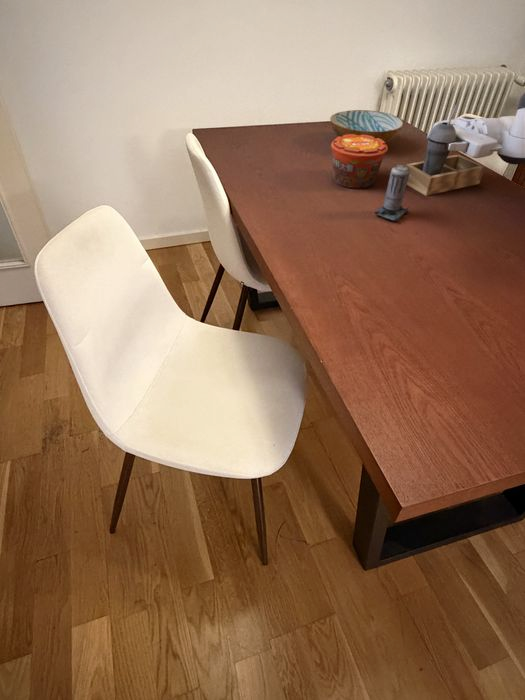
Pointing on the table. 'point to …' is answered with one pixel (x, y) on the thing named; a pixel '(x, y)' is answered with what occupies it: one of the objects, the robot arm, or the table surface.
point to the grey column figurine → (395, 194)
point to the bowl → (366, 124)
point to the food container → (357, 160)
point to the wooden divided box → (445, 175)
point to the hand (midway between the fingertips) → (438, 141)
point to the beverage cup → (438, 146)
